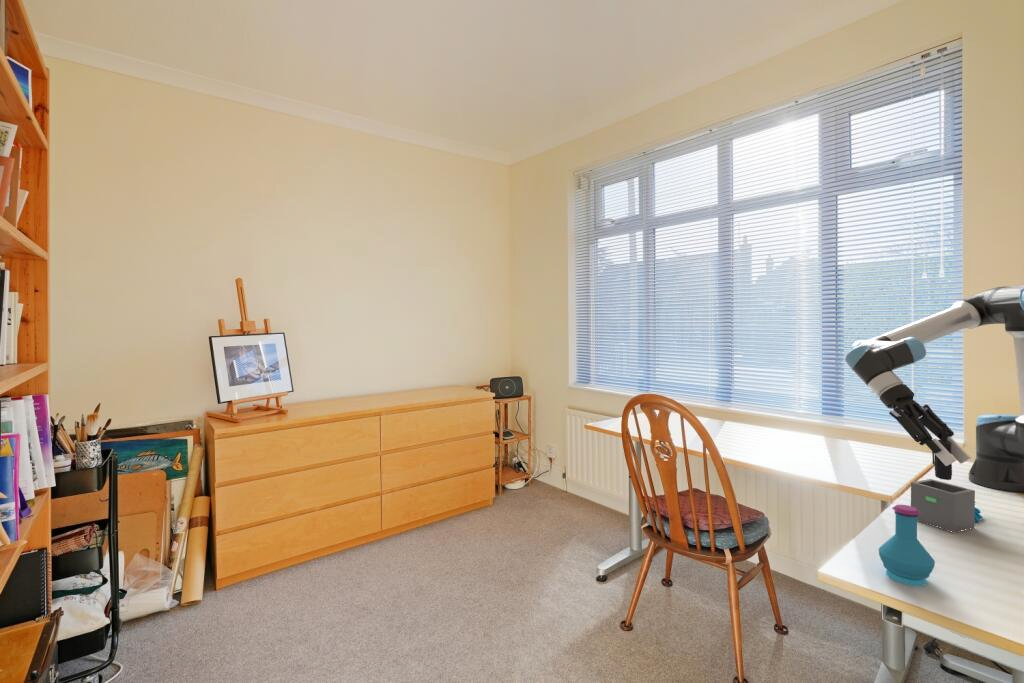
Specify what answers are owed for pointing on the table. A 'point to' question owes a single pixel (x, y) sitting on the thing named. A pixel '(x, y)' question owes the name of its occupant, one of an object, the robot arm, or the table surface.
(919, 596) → the table surface
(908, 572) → the perfume bottle
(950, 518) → the charging dock
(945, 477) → the two-way radio
